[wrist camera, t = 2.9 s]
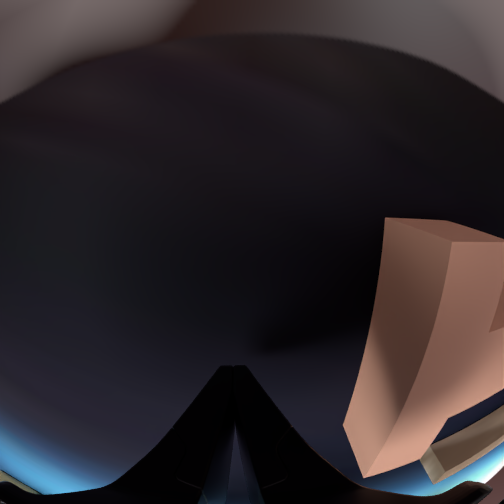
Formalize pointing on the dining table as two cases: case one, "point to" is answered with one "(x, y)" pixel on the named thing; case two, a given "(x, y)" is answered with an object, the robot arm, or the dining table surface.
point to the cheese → (16, 482)
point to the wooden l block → (464, 447)
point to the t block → (427, 339)
